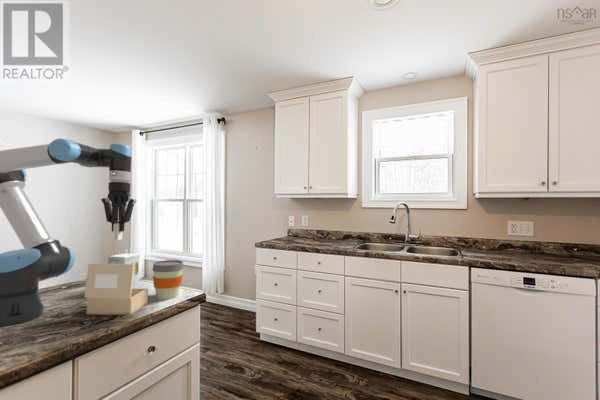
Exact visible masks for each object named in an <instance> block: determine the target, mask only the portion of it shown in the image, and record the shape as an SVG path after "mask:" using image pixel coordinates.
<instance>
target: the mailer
mask: <svg viewBox="0 0 600 400" xmlns="http://www.w3.org/2000/svg"><path fill="white" fill-rule="evenodd" d="M148 299H149V288H138V289H132V290H131V298H86V315H114V316H115V315H117V316H118V315H120V316H121V315H123V316H124V315H125V316H128V315H129V316H131V315H132V314H134V313H135V312H137V311H139V310H140V309H141V308H143V307H145V306H146V305H147V304H148Z"/></svg>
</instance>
